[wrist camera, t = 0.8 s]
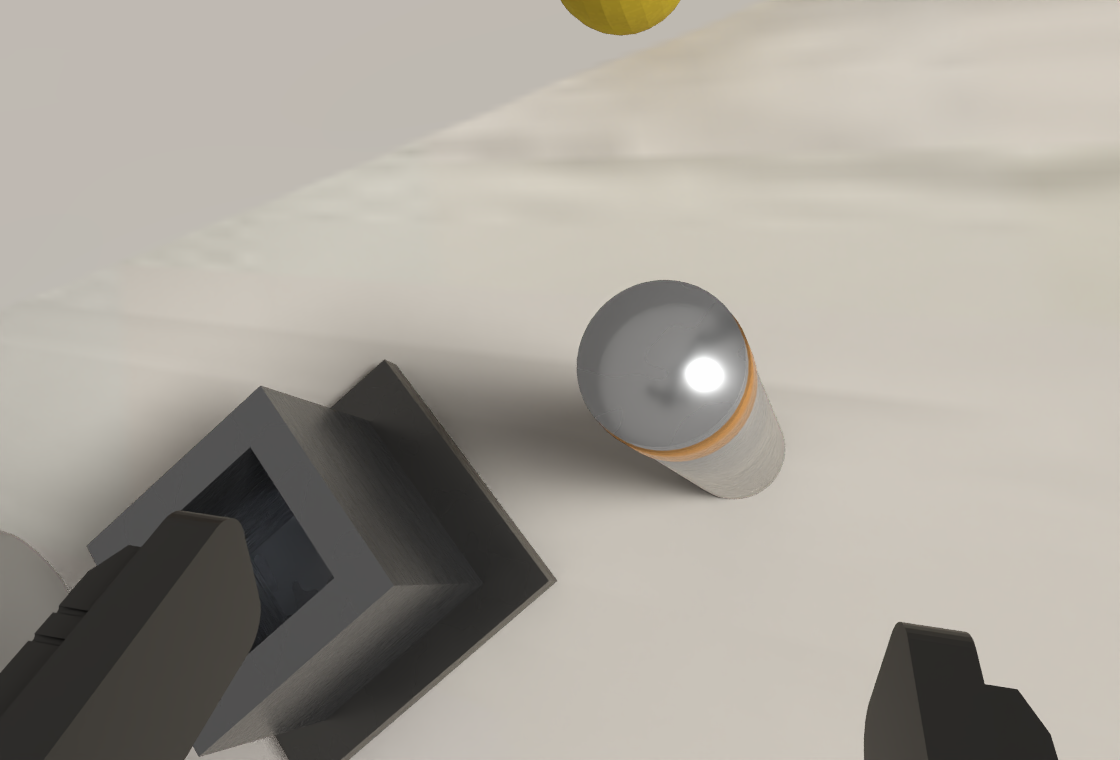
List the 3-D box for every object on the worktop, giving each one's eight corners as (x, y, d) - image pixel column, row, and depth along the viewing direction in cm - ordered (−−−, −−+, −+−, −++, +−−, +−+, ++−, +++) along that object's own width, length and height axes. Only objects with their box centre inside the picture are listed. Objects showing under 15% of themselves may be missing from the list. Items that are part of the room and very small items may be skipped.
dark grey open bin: (396, 365, 37) (282, 311, 29) (557, 580, 33) (474, 583, 25) (187, 553, 38) (26, 549, 30) (320, 783, 34) (174, 843, 26)
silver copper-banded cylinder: (738, 376, 32) (668, 243, 19) (809, 453, 31) (786, 367, 18) (660, 443, 33) (541, 357, 20) (728, 522, 32) (648, 486, 18)
